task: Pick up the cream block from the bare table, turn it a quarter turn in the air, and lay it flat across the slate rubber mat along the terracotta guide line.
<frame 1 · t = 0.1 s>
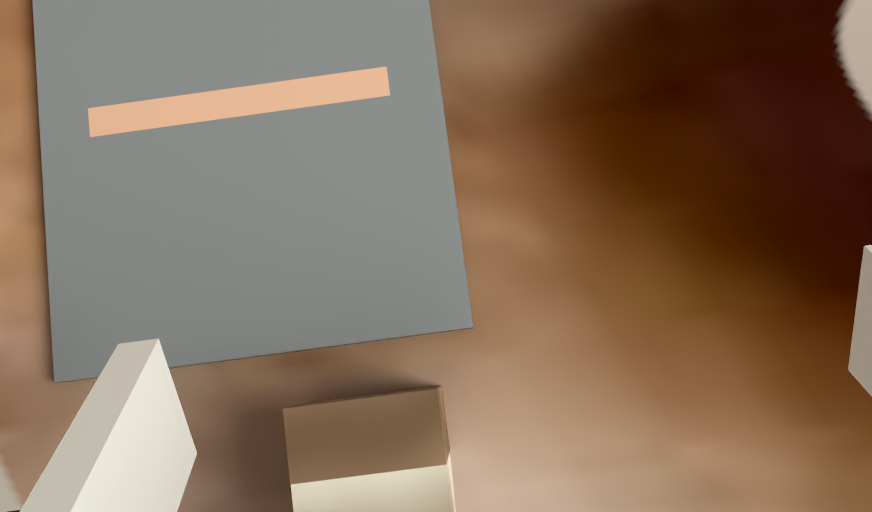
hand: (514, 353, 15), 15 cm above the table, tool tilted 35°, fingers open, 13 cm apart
mat: (242, 107, 32), on the table
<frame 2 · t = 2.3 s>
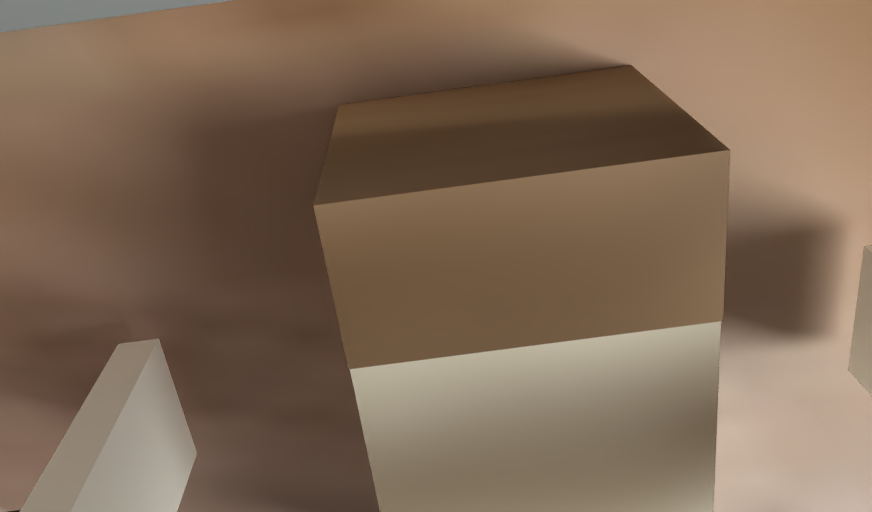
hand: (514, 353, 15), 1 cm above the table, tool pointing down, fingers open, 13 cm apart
cream block: (509, 331, 16), on the table
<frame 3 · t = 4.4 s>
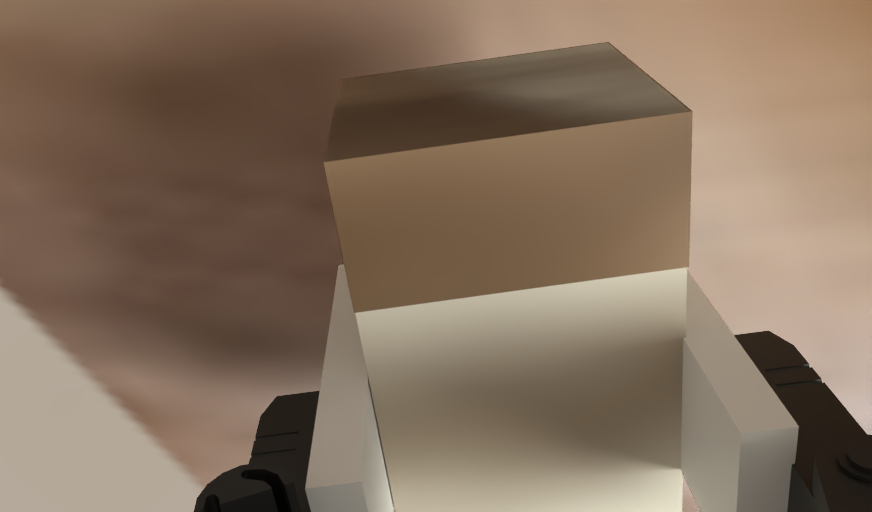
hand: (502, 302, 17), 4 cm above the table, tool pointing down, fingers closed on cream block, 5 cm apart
cream block: (498, 292, 17), point 4 cm above the table, touching gripper
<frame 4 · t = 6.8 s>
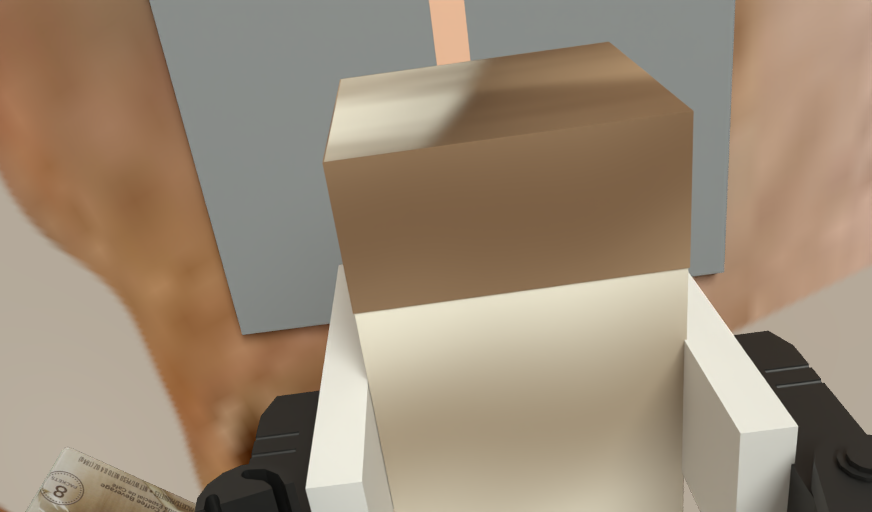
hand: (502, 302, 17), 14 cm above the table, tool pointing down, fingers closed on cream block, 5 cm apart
cream block: (498, 293, 17), point 14 cm above the table, touching gripper
mat: (458, 111, 30), on the table
when the fingers open (2 cm above the table, at t = 9.7 s): cream block stays where it is, resting on mat.
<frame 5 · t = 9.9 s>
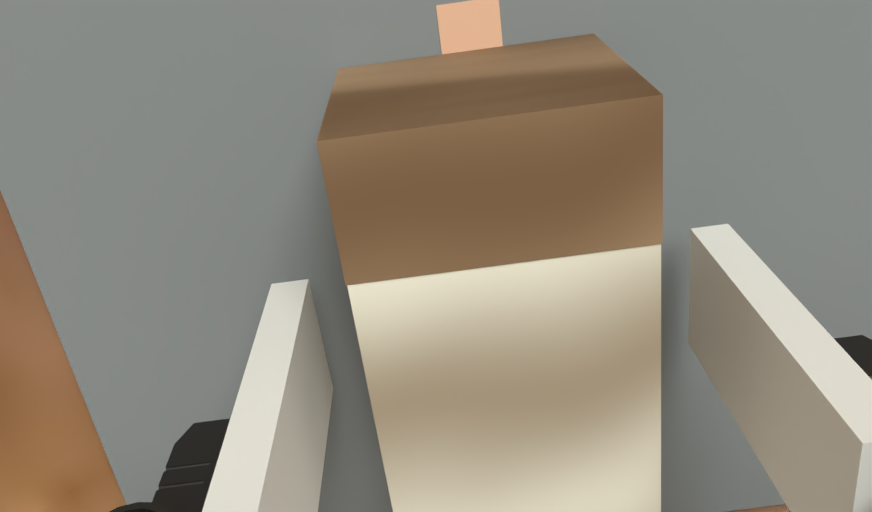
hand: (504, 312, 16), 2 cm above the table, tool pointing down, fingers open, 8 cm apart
cream block: (490, 275, 18), point 1 cm above the table, touching mat
mat: (493, 264, 18), on the table
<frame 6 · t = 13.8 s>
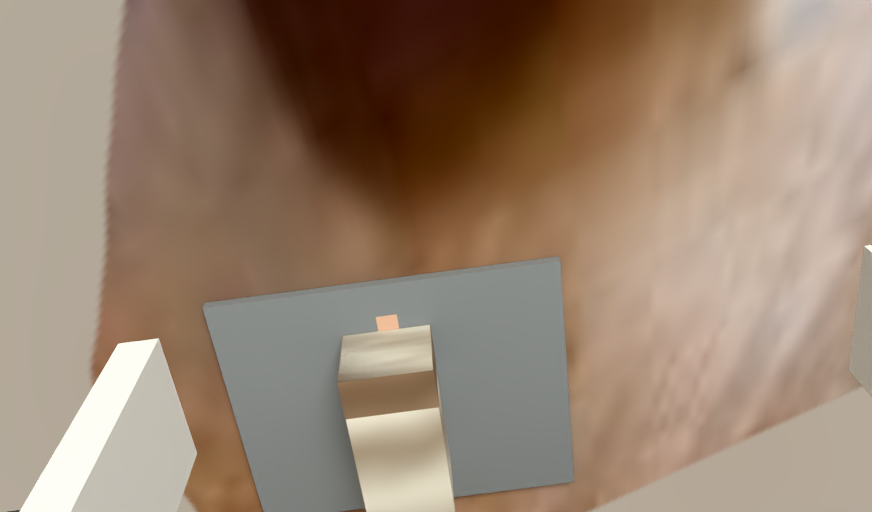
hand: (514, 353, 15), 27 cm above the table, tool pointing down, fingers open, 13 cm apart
cream block: (399, 400, 47), point 1 cm above the table, touching mat
mat: (401, 395, 48), on the table
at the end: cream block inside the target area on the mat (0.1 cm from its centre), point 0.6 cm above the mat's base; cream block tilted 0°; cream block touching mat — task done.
